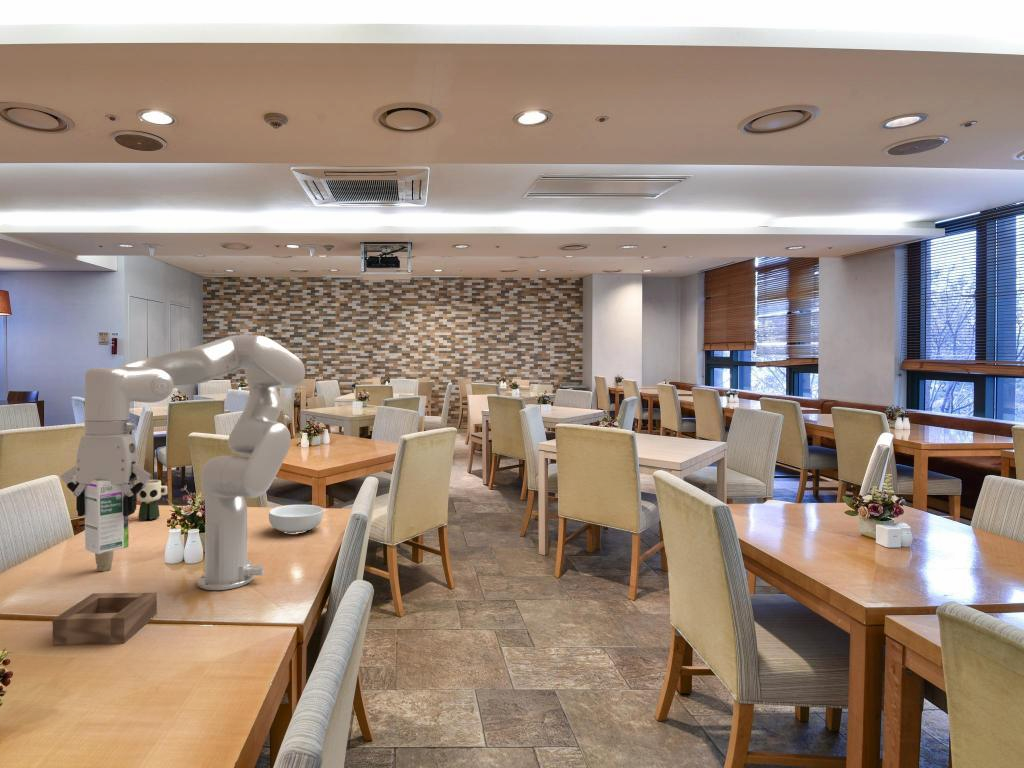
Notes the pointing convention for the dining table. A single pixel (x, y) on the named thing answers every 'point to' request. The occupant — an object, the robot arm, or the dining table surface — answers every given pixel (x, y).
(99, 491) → the syrup box
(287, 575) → the dining table surface
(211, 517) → the robot arm
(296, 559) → the dining table surface
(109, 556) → the handle
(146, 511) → the character mug
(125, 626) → the socket
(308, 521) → the cereal bowl
